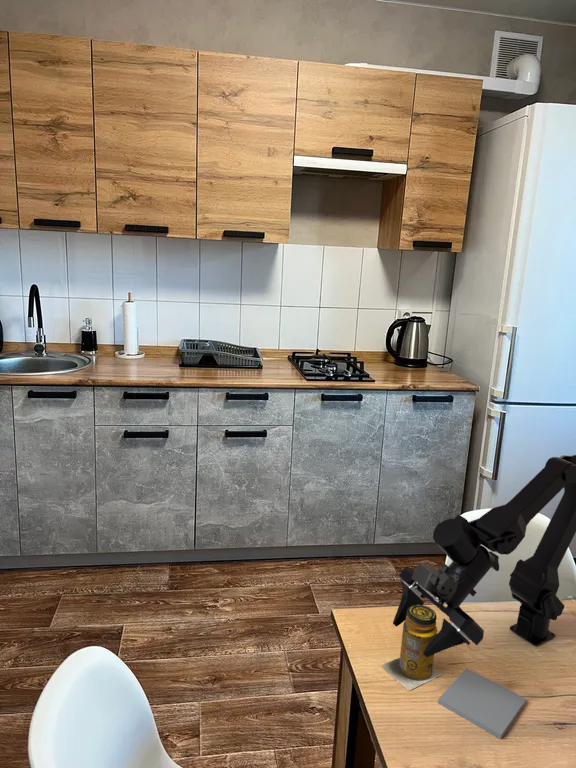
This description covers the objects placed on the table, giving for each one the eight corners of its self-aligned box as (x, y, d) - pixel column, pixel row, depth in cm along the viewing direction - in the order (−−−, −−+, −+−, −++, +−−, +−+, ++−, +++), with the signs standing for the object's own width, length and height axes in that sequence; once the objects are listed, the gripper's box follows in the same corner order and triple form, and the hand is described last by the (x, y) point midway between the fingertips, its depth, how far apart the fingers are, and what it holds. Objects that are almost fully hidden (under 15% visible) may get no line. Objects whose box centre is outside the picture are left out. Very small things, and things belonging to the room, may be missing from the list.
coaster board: (466, 671, 109) (466, 667, 109) (525, 702, 102) (526, 698, 102) (437, 703, 101) (438, 698, 101) (500, 739, 94) (501, 734, 94)
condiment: (442, 674, 108) (449, 616, 106) (409, 691, 104) (415, 631, 101) (413, 652, 114) (419, 596, 111) (380, 667, 109) (386, 609, 107)
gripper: (411, 527, 114) (357, 590, 111) (479, 576, 97) (417, 651, 95) (439, 558, 119) (388, 618, 116) (508, 609, 102) (451, 681, 100)
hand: (408, 639), depth 107 cm, fingers open, 9 cm apart
